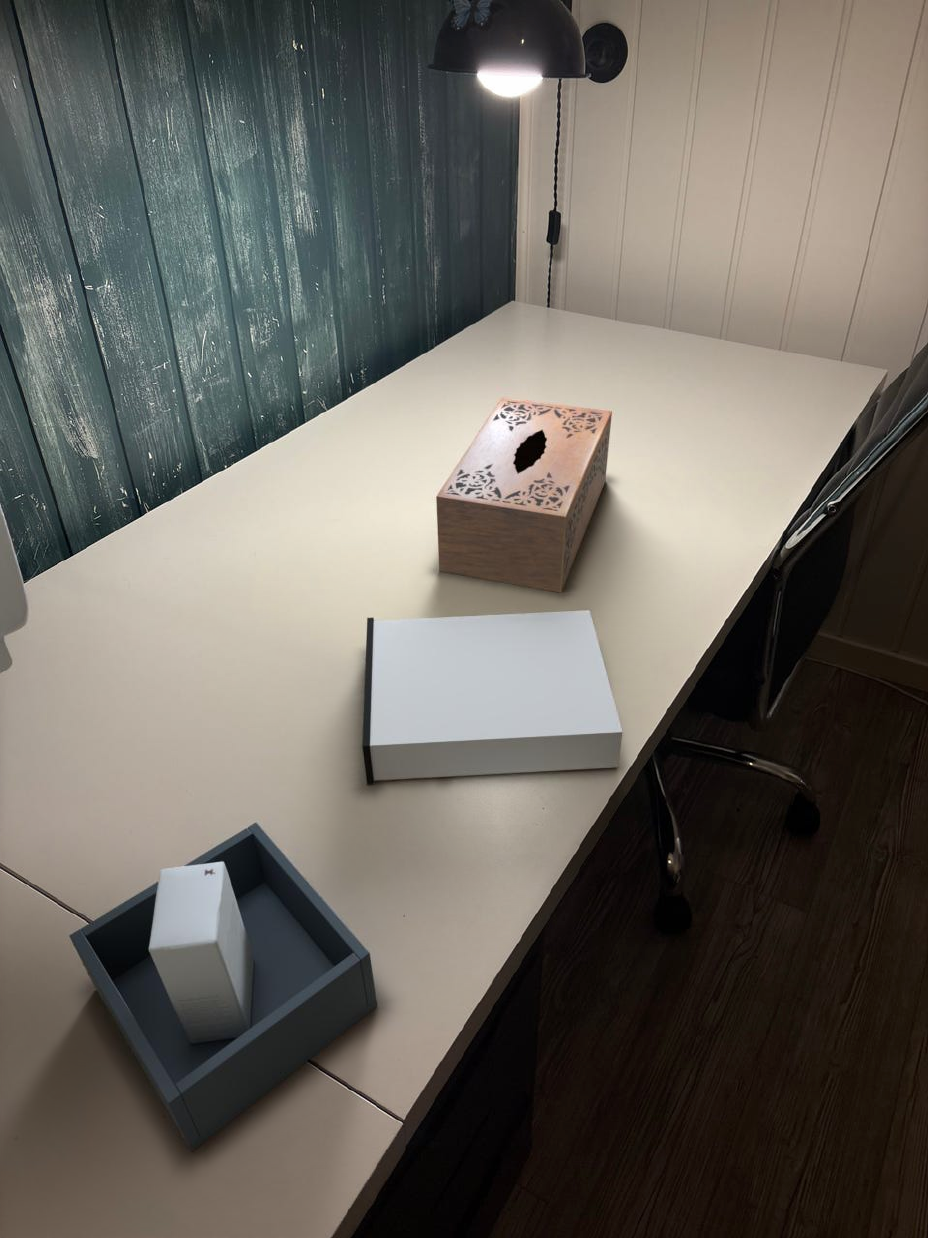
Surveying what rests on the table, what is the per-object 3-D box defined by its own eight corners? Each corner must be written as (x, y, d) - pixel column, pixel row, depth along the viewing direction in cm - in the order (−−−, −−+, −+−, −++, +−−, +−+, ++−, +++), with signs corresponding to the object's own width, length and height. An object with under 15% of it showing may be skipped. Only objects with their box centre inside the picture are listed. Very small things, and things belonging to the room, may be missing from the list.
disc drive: (369, 654, 95) (365, 617, 92) (586, 644, 95) (589, 606, 92) (365, 785, 81) (360, 746, 78) (618, 771, 82) (623, 732, 79)
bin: (191, 1152, 58) (168, 1103, 53) (95, 988, 66) (68, 935, 62) (377, 1006, 65) (370, 953, 61) (269, 875, 74) (256, 821, 69)
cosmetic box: (196, 966, 67) (159, 865, 59) (255, 959, 67) (226, 858, 60) (187, 1048, 62) (145, 950, 55) (250, 1040, 62) (218, 941, 55)
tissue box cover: (501, 465, 125) (501, 397, 119) (605, 480, 122) (611, 411, 115) (439, 570, 106) (436, 496, 100) (560, 592, 103) (565, 516, 96)
